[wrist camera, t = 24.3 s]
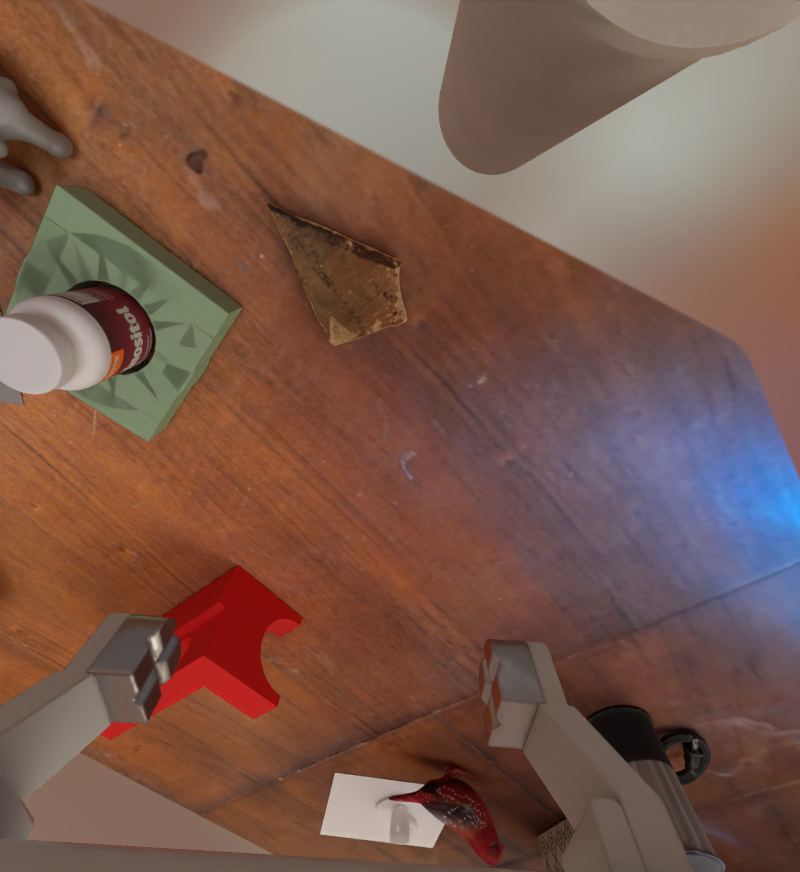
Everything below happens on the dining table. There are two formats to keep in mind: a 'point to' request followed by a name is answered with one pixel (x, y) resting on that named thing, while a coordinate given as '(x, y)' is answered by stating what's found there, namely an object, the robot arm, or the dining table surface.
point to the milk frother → (663, 773)
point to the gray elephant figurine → (24, 138)
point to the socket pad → (149, 284)
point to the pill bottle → (73, 339)
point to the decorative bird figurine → (459, 812)
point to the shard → (343, 279)
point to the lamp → (555, 845)
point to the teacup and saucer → (378, 812)
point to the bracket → (224, 645)
